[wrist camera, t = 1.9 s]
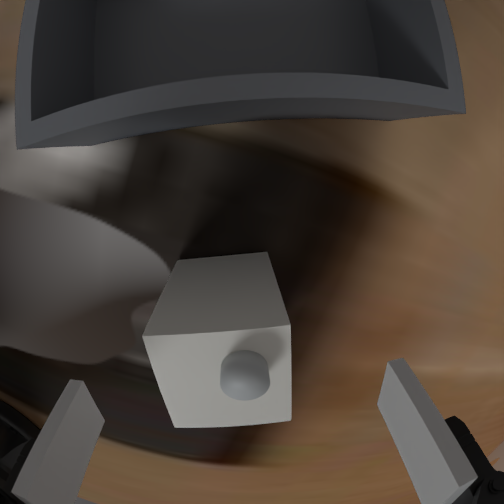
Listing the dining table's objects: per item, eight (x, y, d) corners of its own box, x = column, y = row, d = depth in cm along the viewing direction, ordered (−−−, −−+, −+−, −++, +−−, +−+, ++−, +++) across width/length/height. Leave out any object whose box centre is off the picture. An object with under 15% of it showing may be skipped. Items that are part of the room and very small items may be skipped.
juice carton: (191, 335, 22) (172, 441, 13) (177, 260, 20) (136, 350, 11) (271, 328, 22) (294, 434, 13) (267, 251, 20) (295, 339, 11)
